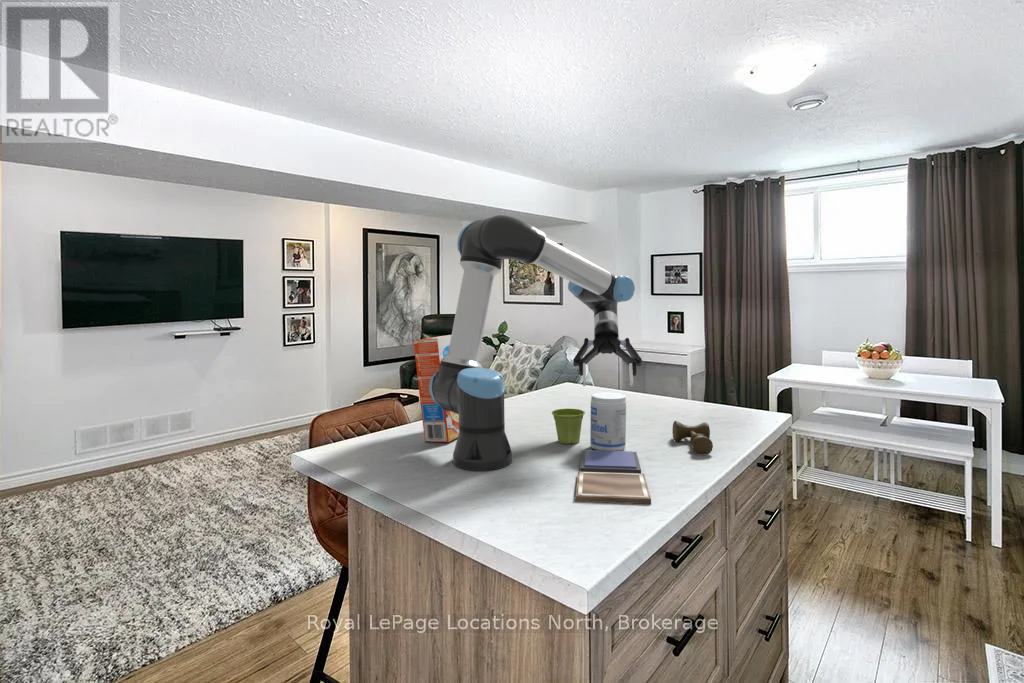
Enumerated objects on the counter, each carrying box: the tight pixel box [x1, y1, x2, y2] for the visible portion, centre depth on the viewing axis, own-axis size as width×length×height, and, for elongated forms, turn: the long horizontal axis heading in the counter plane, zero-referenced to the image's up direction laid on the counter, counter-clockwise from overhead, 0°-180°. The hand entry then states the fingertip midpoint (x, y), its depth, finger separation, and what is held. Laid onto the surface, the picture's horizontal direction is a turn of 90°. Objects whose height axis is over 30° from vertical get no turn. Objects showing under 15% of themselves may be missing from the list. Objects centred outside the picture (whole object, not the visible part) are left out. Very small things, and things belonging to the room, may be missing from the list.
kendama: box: [671, 420, 714, 455], centre depth 144 cm, size 6×10×20 cm
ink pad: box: [579, 449, 642, 474], centre depth 128 cm, size 14×14×2 cm
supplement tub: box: [589, 391, 627, 451], centre depth 142 cm, size 10×10×15 cm
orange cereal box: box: [413, 334, 459, 443], centre depth 160 cm, size 23×8×30 cm, turn 158°
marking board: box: [575, 471, 652, 505], centre depth 112 cm, size 15×15×1 cm
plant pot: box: [551, 408, 586, 445], centre depth 149 cm, size 9×9×9 cm
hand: (607, 383), depth 151 cm, fingers open, 13 cm apart
